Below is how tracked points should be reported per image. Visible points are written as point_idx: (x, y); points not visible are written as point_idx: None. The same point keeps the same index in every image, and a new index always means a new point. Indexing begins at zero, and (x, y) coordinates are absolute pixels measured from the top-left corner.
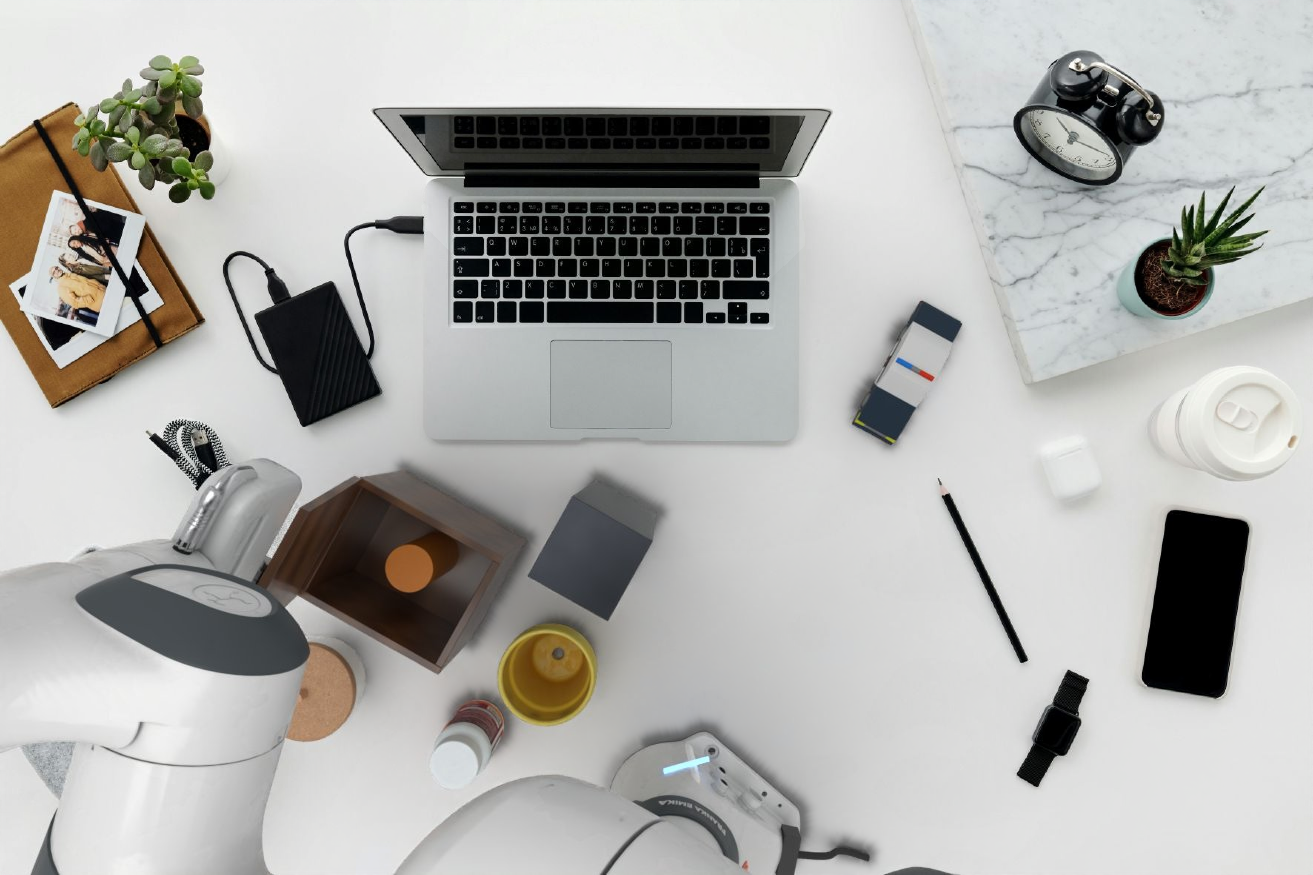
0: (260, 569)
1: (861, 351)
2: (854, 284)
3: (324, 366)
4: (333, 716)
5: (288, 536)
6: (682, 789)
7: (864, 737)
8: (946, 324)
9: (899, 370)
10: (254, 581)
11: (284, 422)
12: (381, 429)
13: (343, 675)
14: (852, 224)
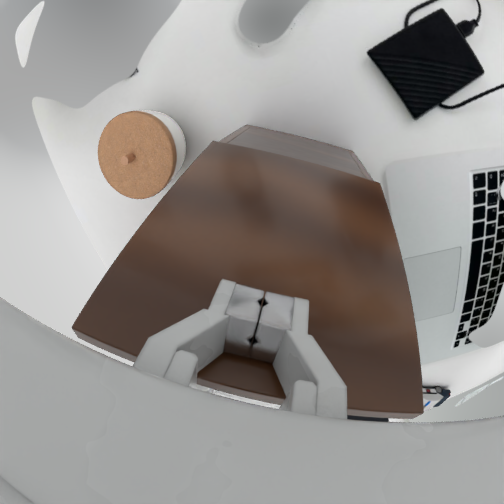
0: (282, 385)
1: (433, 378)
2: (462, 368)
3: (423, 66)
4: (127, 188)
5: (367, 412)
6: (200, 388)
7: (254, 402)
8: (439, 403)
9: (425, 402)
10: (245, 352)
11: (364, 35)
12: (384, 124)
13: (159, 184)
14: (485, 360)
